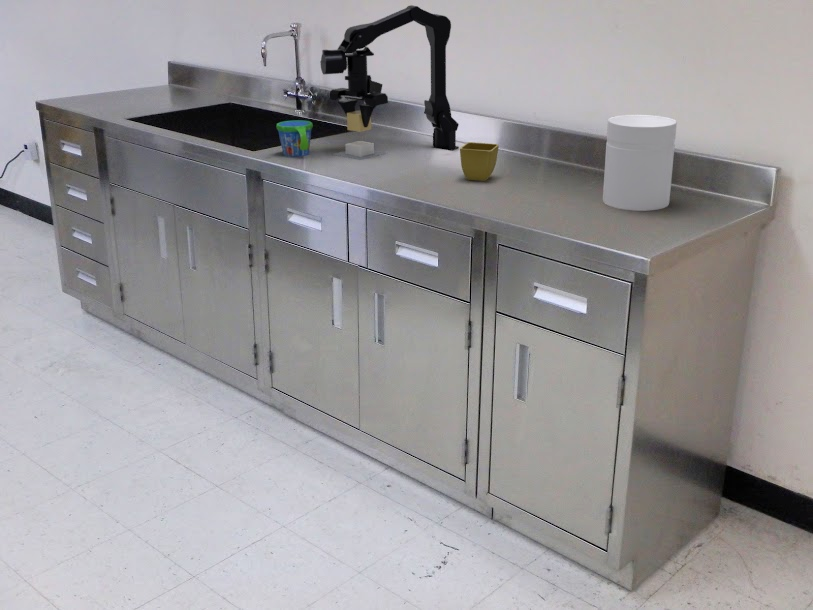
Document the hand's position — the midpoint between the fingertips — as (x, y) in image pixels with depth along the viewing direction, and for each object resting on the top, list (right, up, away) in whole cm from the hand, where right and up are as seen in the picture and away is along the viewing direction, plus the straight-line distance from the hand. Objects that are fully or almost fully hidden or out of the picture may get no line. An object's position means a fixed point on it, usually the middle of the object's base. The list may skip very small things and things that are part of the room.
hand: (359, 126), depth 280 cm
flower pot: (+34, -19, -23) cm, 45 cm away
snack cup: (-19, -9, +4) cm, 22 cm away
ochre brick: (0, -1, 0) cm, 1 cm away
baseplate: (0, -9, +3) cm, 9 cm away
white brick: (0, -8, +3) cm, 8 cm away
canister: (+70, -28, -46) cm, 89 cm away
